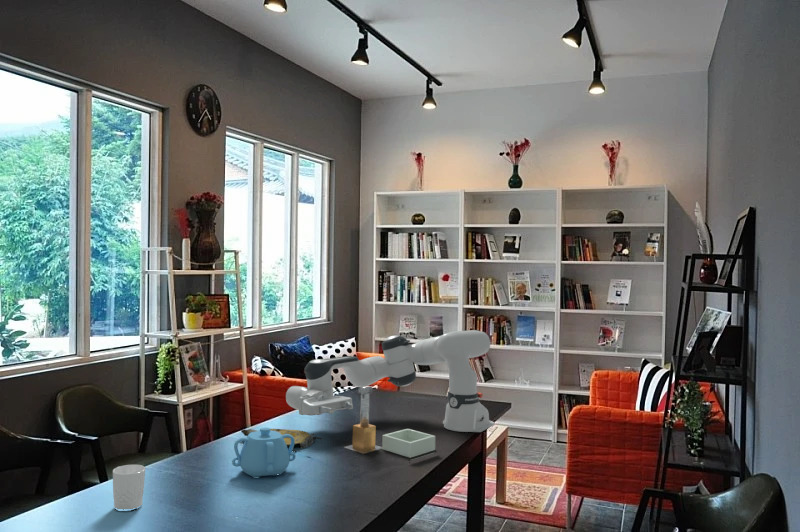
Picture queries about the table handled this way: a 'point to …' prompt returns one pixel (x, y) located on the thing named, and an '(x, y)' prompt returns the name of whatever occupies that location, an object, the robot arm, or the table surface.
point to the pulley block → (299, 436)
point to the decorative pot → (264, 453)
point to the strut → (364, 424)
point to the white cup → (128, 486)
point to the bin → (408, 443)
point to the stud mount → (365, 450)
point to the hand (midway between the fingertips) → (341, 409)
